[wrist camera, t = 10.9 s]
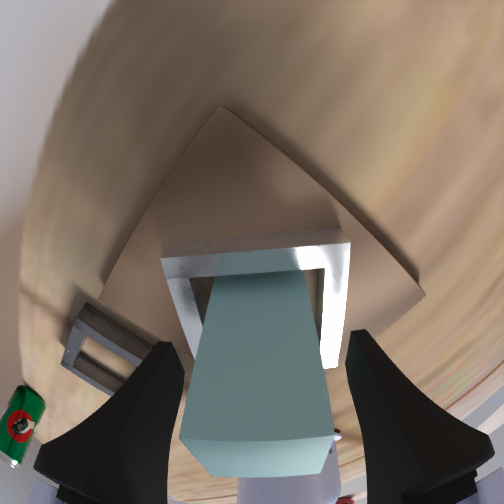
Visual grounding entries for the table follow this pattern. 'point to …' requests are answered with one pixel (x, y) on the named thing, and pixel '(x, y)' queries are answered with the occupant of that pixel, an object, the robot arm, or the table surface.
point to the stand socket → (107, 336)
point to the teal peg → (259, 381)
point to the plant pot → (344, 501)
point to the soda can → (19, 424)
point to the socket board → (239, 205)
